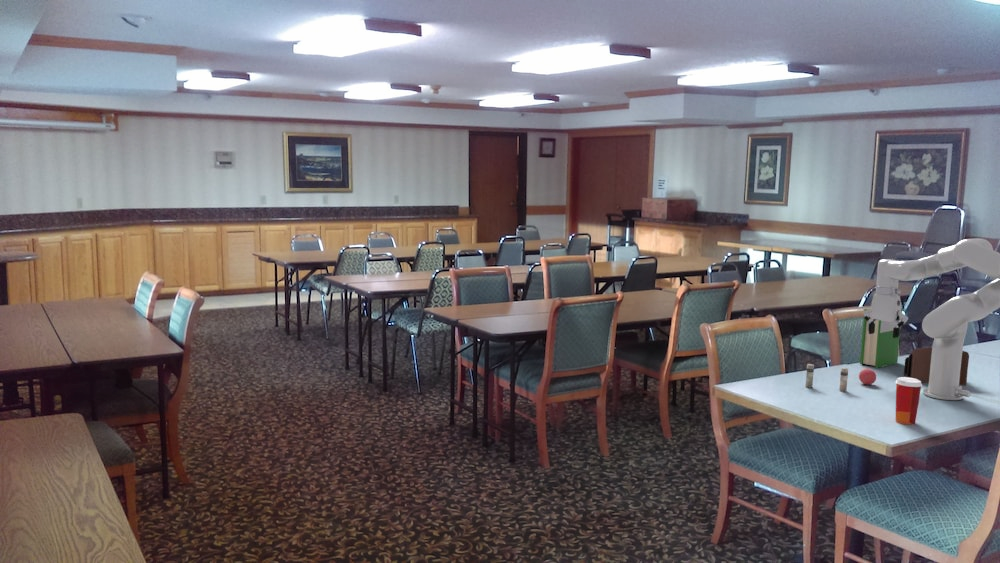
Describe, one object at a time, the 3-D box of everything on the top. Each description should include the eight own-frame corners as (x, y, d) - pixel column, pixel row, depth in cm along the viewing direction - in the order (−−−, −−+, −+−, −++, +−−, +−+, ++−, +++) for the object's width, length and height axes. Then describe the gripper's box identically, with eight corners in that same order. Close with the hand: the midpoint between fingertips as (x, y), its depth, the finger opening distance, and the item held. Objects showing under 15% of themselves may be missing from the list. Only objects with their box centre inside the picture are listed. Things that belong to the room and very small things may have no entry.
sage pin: (813, 387, 289) (815, 365, 288) (810, 388, 287) (811, 365, 286) (807, 385, 291) (809, 363, 290) (804, 386, 289) (805, 364, 288)
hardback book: (877, 368, 322) (881, 311, 319) (859, 364, 328) (864, 309, 325) (897, 362, 333) (902, 308, 329) (880, 359, 338) (884, 305, 335)
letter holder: (966, 386, 296) (970, 350, 294) (910, 382, 301) (913, 346, 299) (957, 379, 306) (961, 345, 304) (903, 375, 310) (906, 341, 308)
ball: (878, 385, 294) (879, 369, 293) (870, 387, 291) (871, 371, 290) (863, 381, 299) (864, 366, 298) (855, 383, 295) (856, 368, 295)
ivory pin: (847, 391, 284) (849, 368, 283) (844, 392, 283) (846, 369, 282) (841, 389, 286) (843, 367, 285) (837, 390, 285) (839, 368, 284)
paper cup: (912, 419, 251) (916, 377, 250) (923, 426, 244) (927, 383, 242) (887, 417, 252) (891, 376, 250) (897, 425, 245) (901, 382, 243)
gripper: (914, 293, 291) (911, 338, 293) (869, 288, 305) (866, 331, 307) (904, 294, 287) (901, 340, 289) (859, 289, 301) (856, 333, 303)
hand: (883, 335), depth 298 cm, fingers open, 9 cm apart
